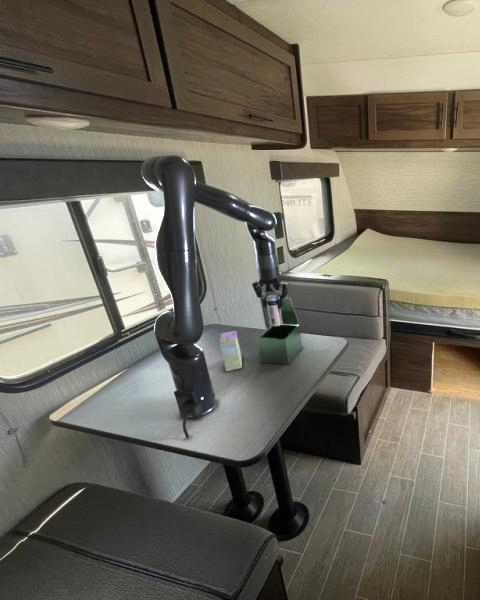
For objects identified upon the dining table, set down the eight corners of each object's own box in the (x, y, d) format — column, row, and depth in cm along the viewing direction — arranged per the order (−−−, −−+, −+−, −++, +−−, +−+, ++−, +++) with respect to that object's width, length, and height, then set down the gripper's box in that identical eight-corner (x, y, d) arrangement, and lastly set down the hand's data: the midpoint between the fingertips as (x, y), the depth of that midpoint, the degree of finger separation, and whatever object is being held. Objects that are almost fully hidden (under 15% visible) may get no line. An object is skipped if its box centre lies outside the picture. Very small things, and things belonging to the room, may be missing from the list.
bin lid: (290, 299, 126) (294, 290, 130) (262, 297, 127) (267, 289, 131) (299, 324, 136) (303, 316, 140) (273, 323, 137) (277, 314, 141)
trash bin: (288, 364, 127) (285, 339, 124) (261, 362, 129) (256, 338, 125) (302, 347, 140) (299, 324, 136) (276, 345, 141) (273, 323, 137)
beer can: (284, 324, 128) (280, 296, 124) (273, 328, 125) (268, 299, 121) (279, 320, 131) (275, 293, 127) (268, 324, 128) (263, 296, 124)
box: (226, 358, 131) (220, 333, 127) (241, 355, 133) (236, 330, 129) (225, 372, 122) (219, 344, 118) (241, 368, 124) (236, 341, 120)
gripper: (243, 267, 117) (251, 310, 123) (281, 268, 115) (287, 312, 121) (254, 262, 124) (261, 303, 130) (290, 263, 122) (295, 305, 128)
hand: (273, 307), depth 126 cm, fingers closed on beer can, 4 cm apart
